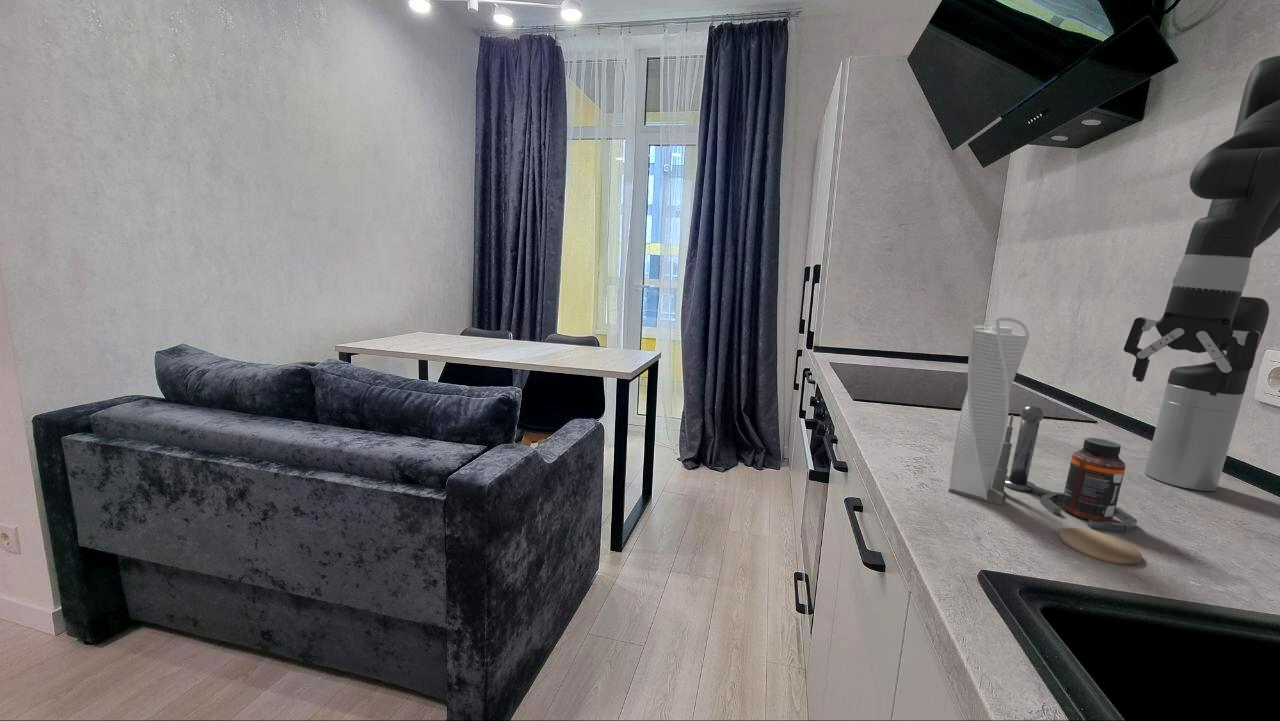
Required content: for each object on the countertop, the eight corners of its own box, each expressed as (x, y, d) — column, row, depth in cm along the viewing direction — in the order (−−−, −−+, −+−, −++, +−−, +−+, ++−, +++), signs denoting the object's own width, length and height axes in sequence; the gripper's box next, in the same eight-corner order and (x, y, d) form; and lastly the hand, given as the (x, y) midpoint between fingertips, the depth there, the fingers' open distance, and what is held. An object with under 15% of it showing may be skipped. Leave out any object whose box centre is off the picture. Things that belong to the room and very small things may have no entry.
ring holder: (1009, 477, 91) (1025, 400, 88) (1143, 522, 76) (1167, 431, 74) (979, 486, 86) (995, 405, 83) (1117, 537, 71) (1141, 440, 68)
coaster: (1074, 527, 73) (1075, 523, 73) (1150, 555, 67) (1151, 551, 66) (1048, 539, 69) (1049, 535, 69) (1127, 571, 62) (1128, 566, 62)
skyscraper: (1000, 508, 78) (1039, 321, 73) (939, 491, 82) (971, 314, 77) (1003, 491, 84) (1039, 318, 79) (946, 476, 89) (976, 312, 84)
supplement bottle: (1122, 527, 74) (1141, 451, 72) (1075, 520, 75) (1092, 445, 73) (1095, 508, 80) (1112, 437, 78) (1052, 502, 81) (1067, 432, 79)
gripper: (1279, 292, 77) (1242, 397, 81) (1149, 281, 88) (1122, 374, 92) (1276, 292, 73) (1237, 403, 76) (1139, 281, 84) (1111, 378, 87)
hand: (1174, 387), depth 84 cm, fingers open, 8 cm apart
